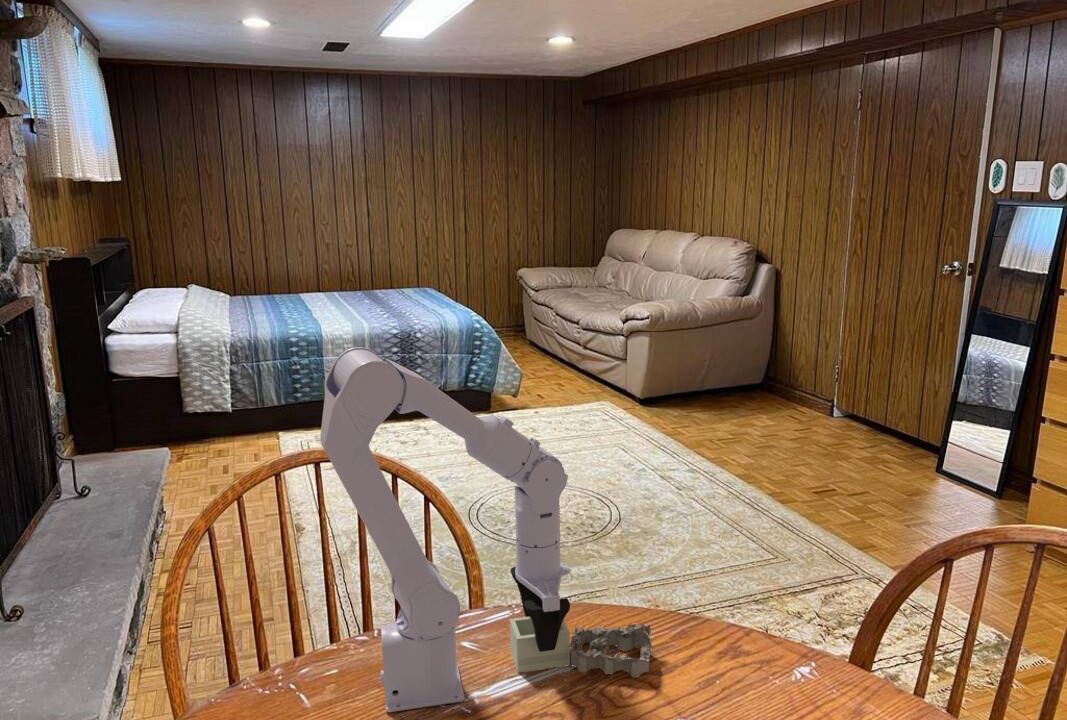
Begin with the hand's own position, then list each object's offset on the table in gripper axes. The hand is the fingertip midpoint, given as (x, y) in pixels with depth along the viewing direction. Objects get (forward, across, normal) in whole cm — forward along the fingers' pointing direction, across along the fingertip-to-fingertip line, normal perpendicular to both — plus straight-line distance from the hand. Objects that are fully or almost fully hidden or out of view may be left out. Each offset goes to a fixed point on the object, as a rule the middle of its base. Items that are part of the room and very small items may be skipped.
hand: (539, 633), depth 105 cm
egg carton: (+4, -3, -9) cm, 10 cm away
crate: (+4, 0, 0) cm, 4 cm away
